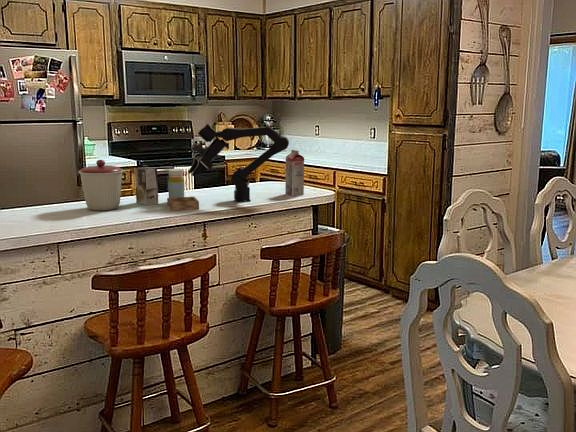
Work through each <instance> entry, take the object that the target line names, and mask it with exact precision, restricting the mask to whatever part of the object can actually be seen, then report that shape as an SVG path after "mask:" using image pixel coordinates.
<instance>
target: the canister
mask: <svg viewBox="0 0 576 432" xmlns="http://www.w3.org/2000/svg"><path fill="white" fill-rule="evenodd" d="M95 163H96V165H90V166H85V167H83V168H82V169H80V170H78V174H80V179H81V181H80V182H81V185H82V190H83V191H82V192H83V196H84V200H85V204H86V207H87V208H88V209H89V210H91V211H99V212H100V211H102V212H103V211H111V210H114V209H117V208H119V206H120V204H121V197H122V195H121V193H122V179H123V178H122V176H123V172H124V169H122V168H120V167H119V166H115V165H106V161H105V160H104V159H98V160H97V161H96V162H95Z"/></svg>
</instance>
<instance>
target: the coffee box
mask: <svg viewBox="0 0 576 432" xmlns="http://www.w3.org/2000/svg"><path fill="white" fill-rule="evenodd" d="M133 169H134V184H135V200H136V204H140V205H145V206H152V205H158V204H159V188H158V187H159V186H158V185H159V183H158V182H159V181H158V168H156V167H149V166H142V167H134V168H133Z"/></svg>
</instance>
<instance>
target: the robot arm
mask: <svg viewBox="0 0 576 432" xmlns="http://www.w3.org/2000/svg"><path fill="white" fill-rule="evenodd" d="M197 135H198V136H199V137H200V138H201V139H202V140H203V141H204V142H206V143H208V142H209V143H210V144H209V145H208V146H205V147H203V144H201V143H198V144H196V143H194V142H193V144H192V145H191V148H190V150H191V151H192V152H196V153H195V154H193V157H192V159H193V162H192V165H191V166H190V168H189V170H188V171H187V172H188V174H191V176H192V177H195V176H196V175H200V174H202V173H204V172H206V171H209V170H211V169H212V168H213V167H214V164H213V162H212V161H213V160H214V159H215V158H218V156H219V154H221V152H222V151H223V150H224V148H225V149H227V150H229V149H230V142H231V141H233V140H236V139H238V140H239V139H240V138H248V137H249V138H250V137H261V136H267V137H268V139H270V140H271V141H272V142H273V144H272V145H271V146H270V147H269V148H268V149H267V150H266V151H264V152H262V154H260V155H258V157H256V159H253V161H251V162H250V163H249V164H248V165H246V166H244V167H243V165H240V166H239V167H238V169H236V170H234V171H233V172H232V175H231V177H230V181H231V183H232V184H233V185H234V186H235V187H234V191H233V199H234V200H235V201H236V202H251V201H252V200H251V198H250V192H251V191H250V189H251V188H250V187H249V186H250V181H249V179H247V178H248V177H249V176H250V175H251V173H253V172H254V171H256V170H257V169H258V168H259V167H261V166H262V165H263V164H265V163H266V162H267V161H268V160H270V158H272V157H274V156H275V155H276V154H279V153H281V152H283V151H285V150H286V149H287V148H288V147H289V145H290V140H289V139H288V137H287V136H284V135H281V134H280V133H279V132H277V131H276V130H275V129H273V128H272V126H269V125H268V126H264V127H263V126H261V127H250V128H249V127H248V128H238V127H237V128H236V127H226V128H224V129H222V130H220V131H219V130H218V131H216V130H215V129H214V128H213V127H212V126H211V125H210V124H209V123H207V124H205V126H203V128H201V129H200V130H199V131H198V132H197ZM220 138H221V139H220ZM229 141H230V142H229Z"/></svg>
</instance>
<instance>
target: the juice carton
mask: <svg viewBox="0 0 576 432" xmlns="http://www.w3.org/2000/svg"><path fill="white" fill-rule="evenodd" d="M284 189H285V195H287V194H288V196H291V197H294V196H295V197H296V196H297V197H298V196H305V193H304V190H305V156H303V155H301V154H300V153H299V150H297V149H291V151H290V153H289V154H287V155H286V156H285V188H284Z"/></svg>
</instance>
